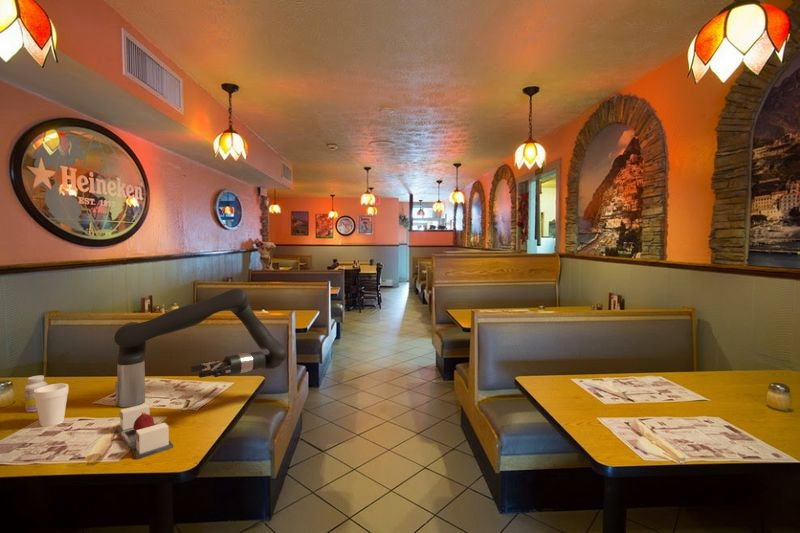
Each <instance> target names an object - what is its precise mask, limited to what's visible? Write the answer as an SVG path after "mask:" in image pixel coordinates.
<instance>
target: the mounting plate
mask: <svg viewBox="0 0 800 533" xmlns="http://www.w3.org/2000/svg"><path fill="white" fill-rule="evenodd" d="M158 424H159V423H158V422H156V421H155V422H154V425H158ZM115 427H116V431H117V432H118V434H119V435H120V437H121V438H122V440H123V439H124V440H123V441H124V442H126V443H125V444H126V445H128V446H127V447H128V448H130V449H129V450H130V452H131V453H132V455H133V456H134V458H135V459H136V460H140V459H142V458H145V457H149V456H152V455H154V454H158V453H161V452H165V451H168V450H170V449H174V444H173V443H172V442H171V441H170V440H169V445H166V446H163V447H160V448H157V449H153V450H150V451H147V452H144V453H141V454H140V453H139V452H138V451H137V449H136V438H135V433H136V431H135V430H134V427H133V428H129V429H126V430H123V429H122V428H121V426H120V425H116V426H115Z"/></svg>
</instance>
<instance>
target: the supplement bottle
mask: <svg viewBox="0 0 800 533" xmlns="http://www.w3.org/2000/svg"><path fill="white" fill-rule="evenodd" d="M44 380H45V375H43V374H42V375H33V376H29V377H28V378H27V382H28V384H26V385H25V386H24V404H25V405H24V406H25V411H26V412H27V413H35V412H38V411H37V406H36V401H35V398H34V390H35V389H37V388H39V387H42V386H46V385H49V383H48V382H47V381H44Z"/></svg>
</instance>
